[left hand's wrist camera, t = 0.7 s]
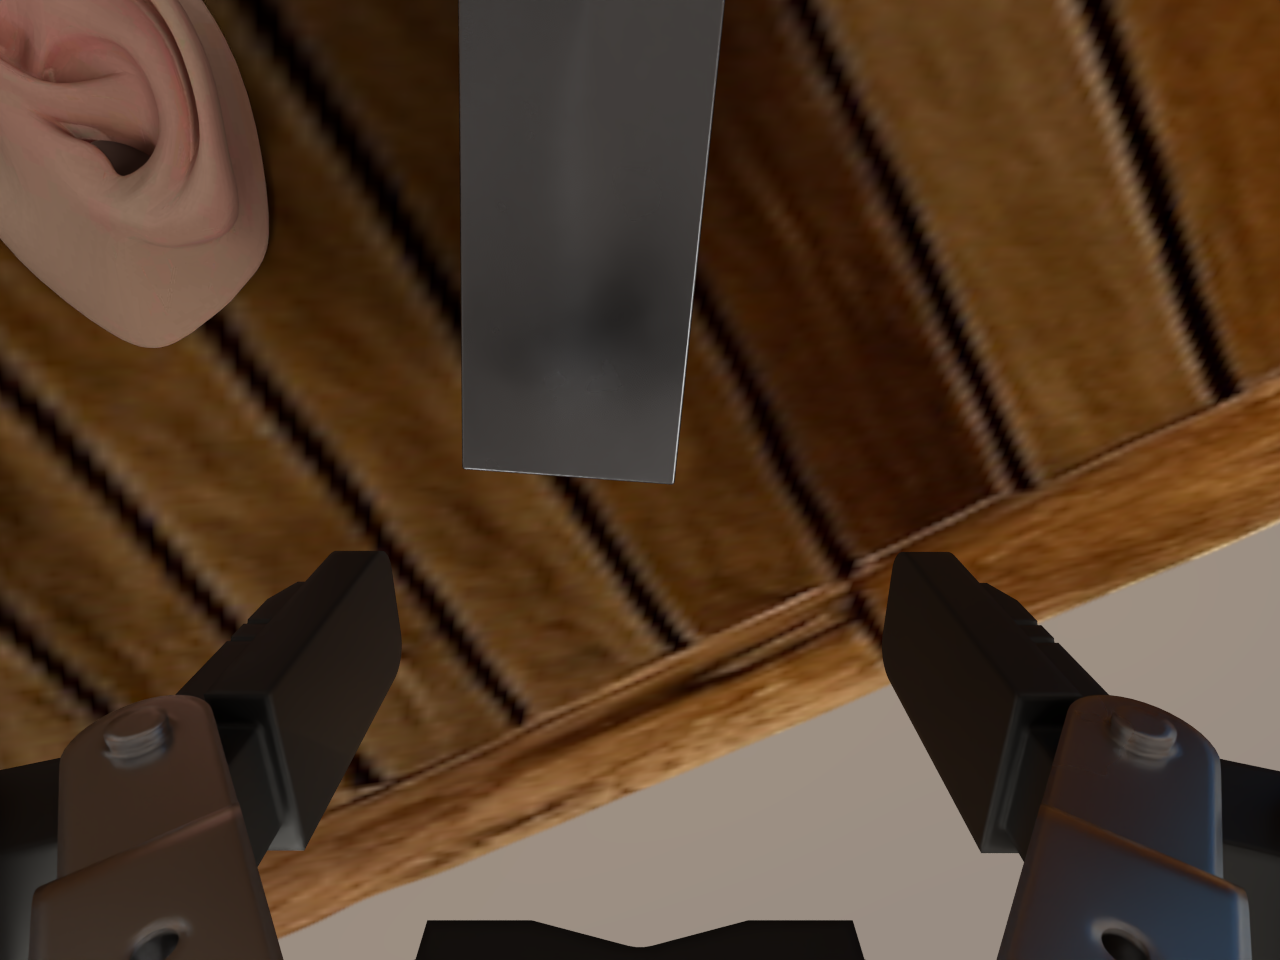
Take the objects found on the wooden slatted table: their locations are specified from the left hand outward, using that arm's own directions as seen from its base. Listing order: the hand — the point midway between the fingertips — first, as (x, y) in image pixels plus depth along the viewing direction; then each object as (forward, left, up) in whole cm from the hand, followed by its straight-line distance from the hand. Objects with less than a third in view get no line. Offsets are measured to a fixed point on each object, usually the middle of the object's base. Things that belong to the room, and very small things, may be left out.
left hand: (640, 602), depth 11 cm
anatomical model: (-13, +15, -18) cm, 27 cm away
